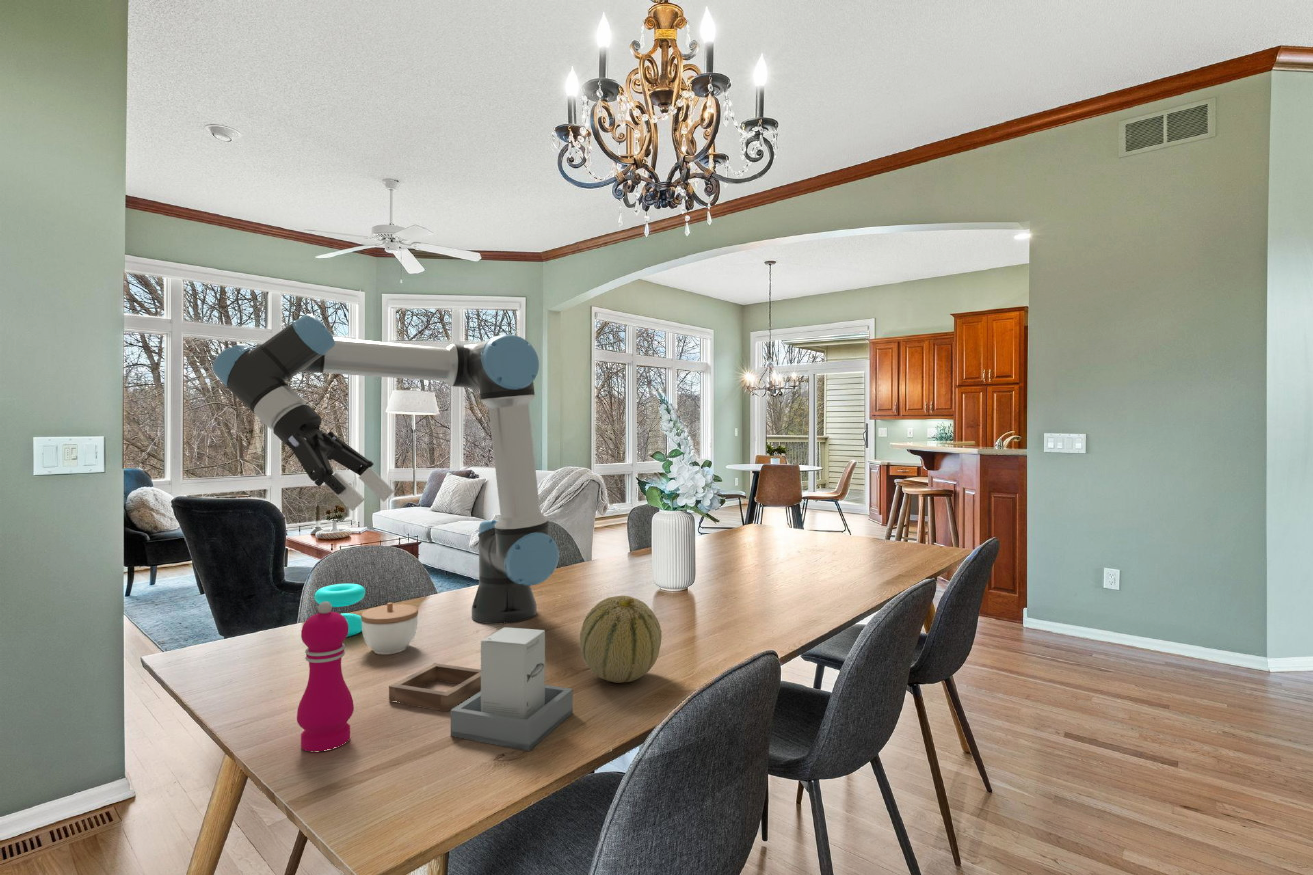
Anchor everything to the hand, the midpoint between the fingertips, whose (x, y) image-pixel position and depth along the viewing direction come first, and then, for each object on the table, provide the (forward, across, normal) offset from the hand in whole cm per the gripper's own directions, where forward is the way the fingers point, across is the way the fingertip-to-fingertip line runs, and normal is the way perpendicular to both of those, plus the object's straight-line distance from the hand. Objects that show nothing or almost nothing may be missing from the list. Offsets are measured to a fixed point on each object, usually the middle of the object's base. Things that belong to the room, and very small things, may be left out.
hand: (374, 500), depth 120 cm
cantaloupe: (+54, +4, +9) cm, 55 cm away
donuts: (+10, -24, -35) cm, 44 cm away
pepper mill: (+25, +27, -20) cm, 41 cm away
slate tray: (+43, +22, -2) cm, 48 cm away
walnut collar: (+32, +9, -12) cm, 36 cm away
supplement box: (+42, +21, -1) cm, 47 cm away
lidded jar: (+21, -13, -24) cm, 35 cm away
